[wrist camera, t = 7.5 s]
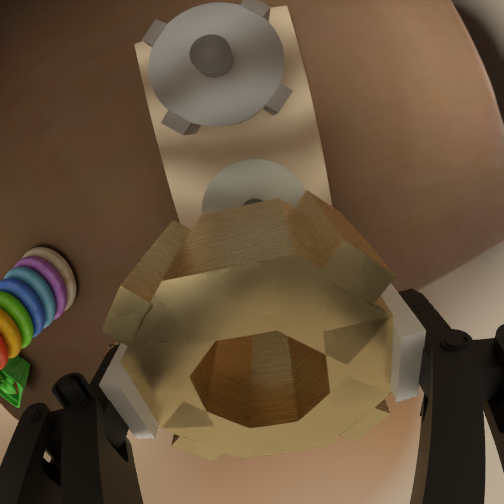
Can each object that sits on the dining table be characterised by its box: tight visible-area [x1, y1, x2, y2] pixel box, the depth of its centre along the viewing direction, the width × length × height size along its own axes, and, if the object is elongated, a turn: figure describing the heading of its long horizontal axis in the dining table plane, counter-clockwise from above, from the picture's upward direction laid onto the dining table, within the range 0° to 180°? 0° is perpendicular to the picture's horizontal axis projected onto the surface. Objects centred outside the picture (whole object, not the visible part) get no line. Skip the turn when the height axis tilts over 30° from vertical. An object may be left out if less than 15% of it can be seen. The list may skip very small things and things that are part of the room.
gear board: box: [135, 0, 332, 230], centre depth 22 cm, size 22×13×9 cm, turn 13°
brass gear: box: [101, 190, 396, 461], centre depth 12 cm, size 8×8×6 cm
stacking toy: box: [0, 247, 76, 370], centre depth 23 cm, size 8×8×19 cm
